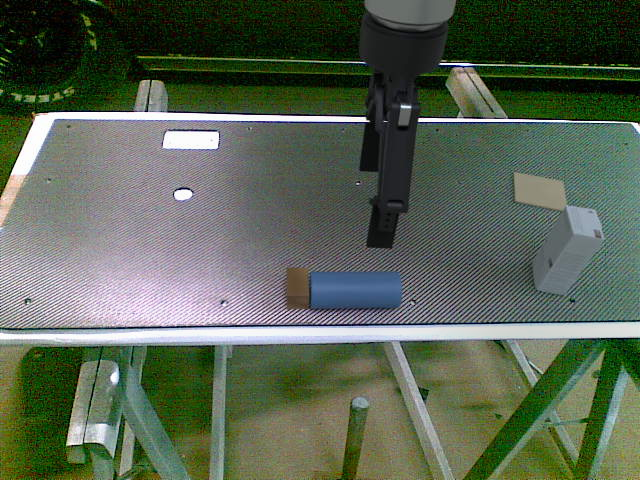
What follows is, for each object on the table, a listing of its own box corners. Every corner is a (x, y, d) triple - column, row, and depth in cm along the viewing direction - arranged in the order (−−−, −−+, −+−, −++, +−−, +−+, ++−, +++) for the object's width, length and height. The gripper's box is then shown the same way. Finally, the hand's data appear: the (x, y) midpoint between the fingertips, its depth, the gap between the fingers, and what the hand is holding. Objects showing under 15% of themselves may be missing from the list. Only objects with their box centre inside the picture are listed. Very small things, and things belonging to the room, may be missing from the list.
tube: (392, 275, 68) (400, 267, 63) (395, 310, 67) (403, 304, 62) (309, 276, 67) (311, 267, 62) (309, 311, 66) (311, 305, 61)
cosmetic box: (530, 262, 74) (562, 202, 65) (560, 267, 73) (596, 208, 65) (535, 292, 69) (570, 232, 61) (567, 298, 69) (606, 238, 60)
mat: (567, 213, 83) (568, 211, 82) (514, 202, 84) (515, 200, 84) (562, 182, 89) (563, 181, 89) (513, 173, 90) (513, 171, 90)
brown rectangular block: (307, 281, 68) (308, 267, 66) (308, 309, 65) (309, 295, 63) (286, 281, 68) (286, 267, 66) (286, 309, 65) (286, 295, 63)
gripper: (355, -31, 49) (339, 143, 64) (374, 79, 32) (345, 285, 46) (426, -26, 50) (394, 146, 65) (485, 84, 32) (421, 288, 47)
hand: (373, 204), depth 56 cm, fingers open, 13 cm apart
